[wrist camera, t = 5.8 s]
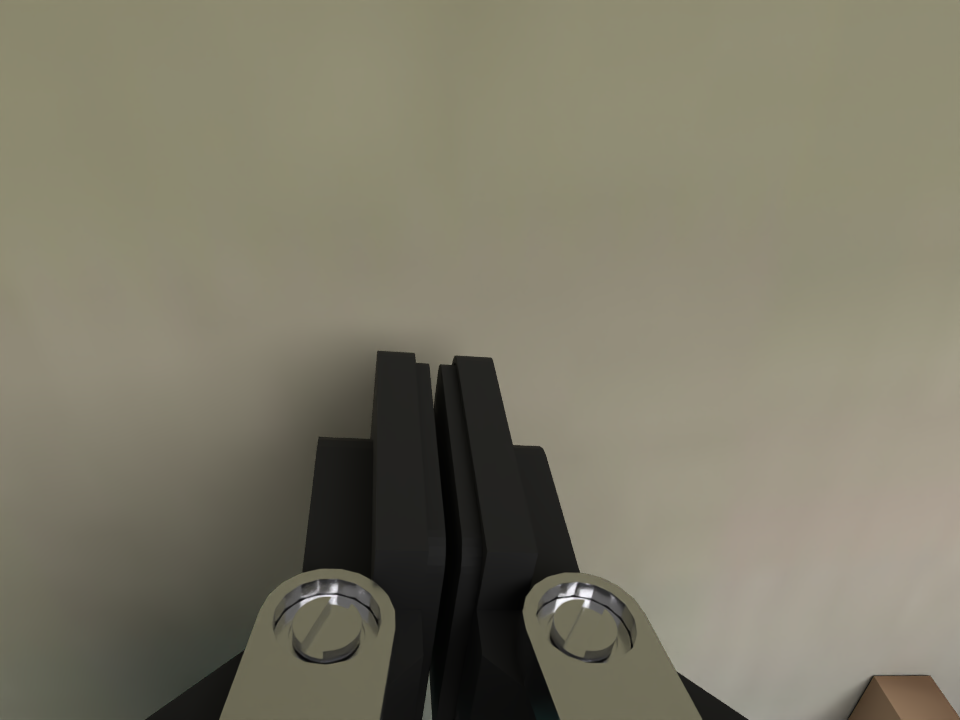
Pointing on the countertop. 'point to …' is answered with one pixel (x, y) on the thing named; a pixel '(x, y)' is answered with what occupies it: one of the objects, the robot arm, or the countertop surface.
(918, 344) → the countertop surface
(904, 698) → the wooden u-shaped frame
